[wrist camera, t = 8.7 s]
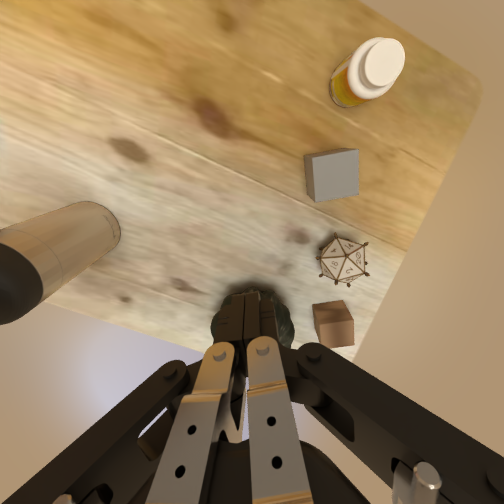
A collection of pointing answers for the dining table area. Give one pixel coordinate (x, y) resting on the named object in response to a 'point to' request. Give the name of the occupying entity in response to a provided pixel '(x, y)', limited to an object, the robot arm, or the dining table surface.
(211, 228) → the dining table surface
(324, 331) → the walnut cube
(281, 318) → the squash
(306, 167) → the slate cube
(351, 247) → the game die
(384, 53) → the supplement bottle
